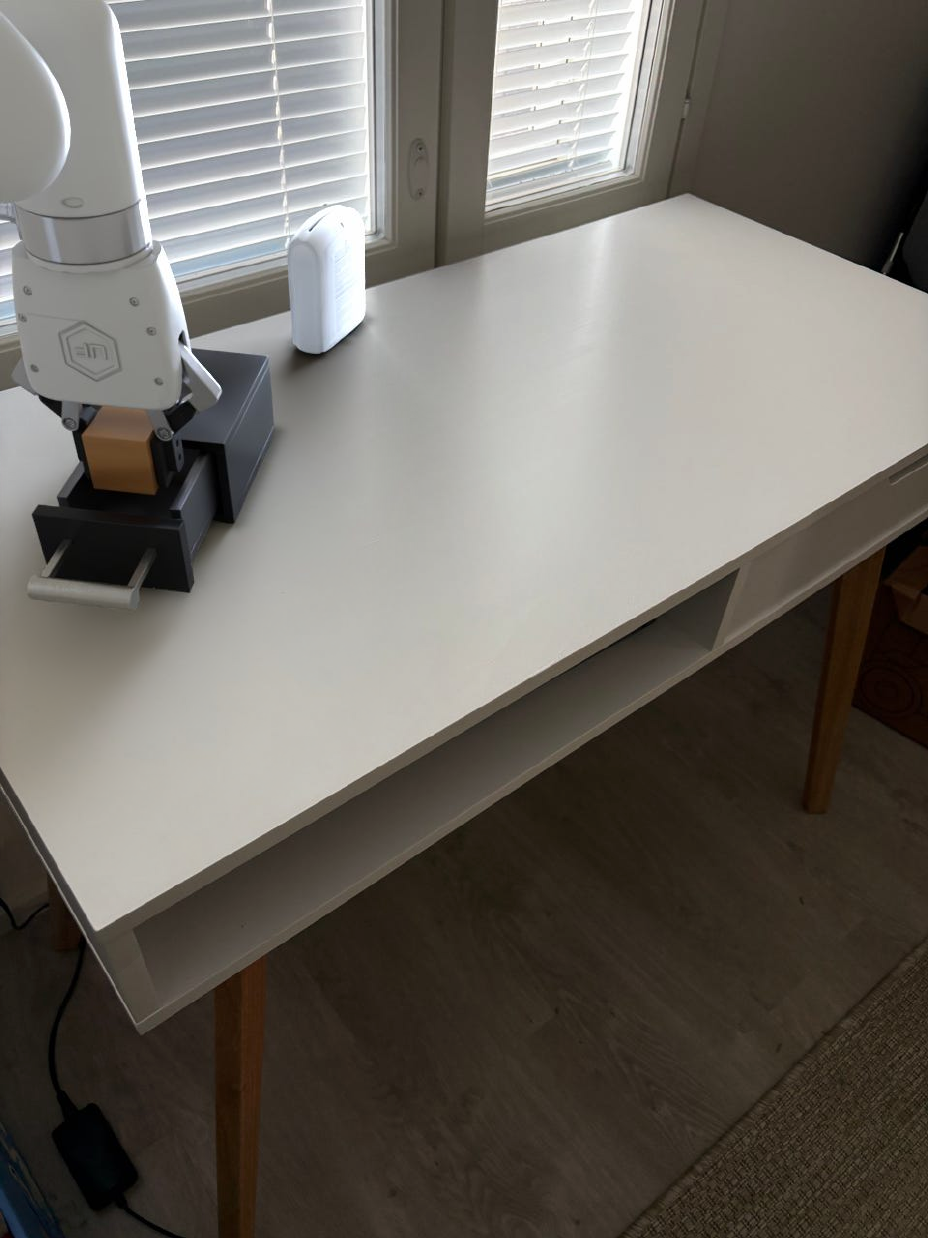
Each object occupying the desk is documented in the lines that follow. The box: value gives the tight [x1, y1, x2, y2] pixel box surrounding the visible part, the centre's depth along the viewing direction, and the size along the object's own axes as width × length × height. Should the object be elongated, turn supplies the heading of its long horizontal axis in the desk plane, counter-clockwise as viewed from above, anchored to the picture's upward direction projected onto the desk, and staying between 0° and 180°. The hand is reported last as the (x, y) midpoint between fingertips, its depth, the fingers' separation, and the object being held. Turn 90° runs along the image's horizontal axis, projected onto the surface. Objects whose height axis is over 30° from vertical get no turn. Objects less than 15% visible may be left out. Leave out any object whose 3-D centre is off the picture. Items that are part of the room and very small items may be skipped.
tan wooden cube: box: [82, 406, 159, 495], centre depth 73 cm, size 4×4×4 cm
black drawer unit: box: [93, 347, 276, 525], centre depth 83 cm, size 14×12×8 cm
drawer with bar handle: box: [26, 448, 222, 612], centre depth 74 cm, size 18×10×6 cm, turn 174°
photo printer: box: [286, 205, 366, 355], centre depth 100 cm, size 10×4×12 cm, turn 157°
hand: (133, 470), depth 74 cm, fingers closed on tan wooden cube, 4 cm apart
